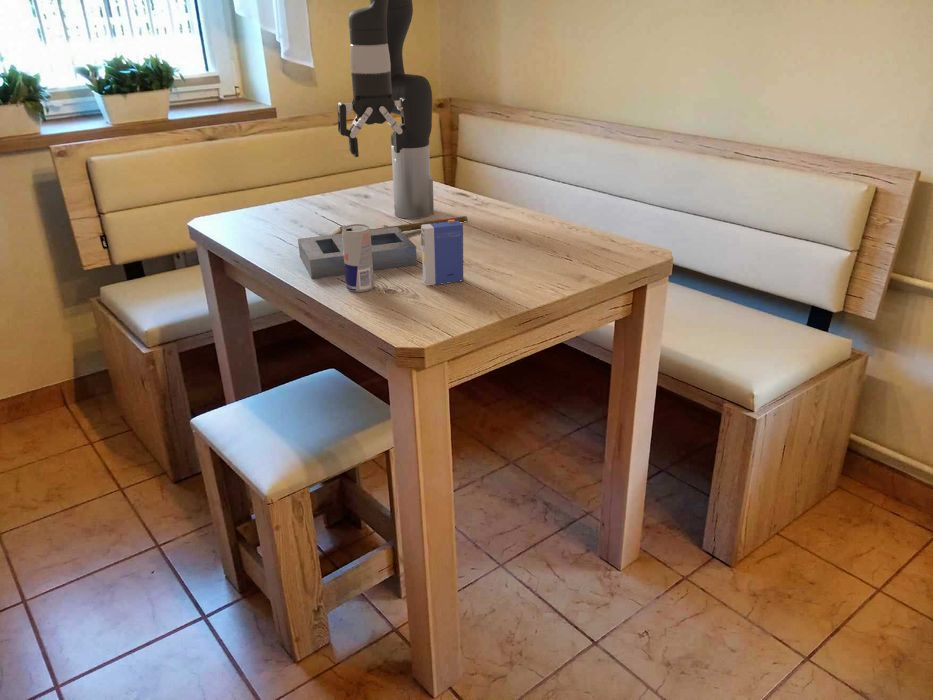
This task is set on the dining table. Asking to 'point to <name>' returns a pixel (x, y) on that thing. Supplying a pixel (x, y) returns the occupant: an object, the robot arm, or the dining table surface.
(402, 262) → the socket plate
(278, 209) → the dining table surface
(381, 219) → the dining table surface
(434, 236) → the walkman
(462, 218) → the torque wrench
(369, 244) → the energy drink
